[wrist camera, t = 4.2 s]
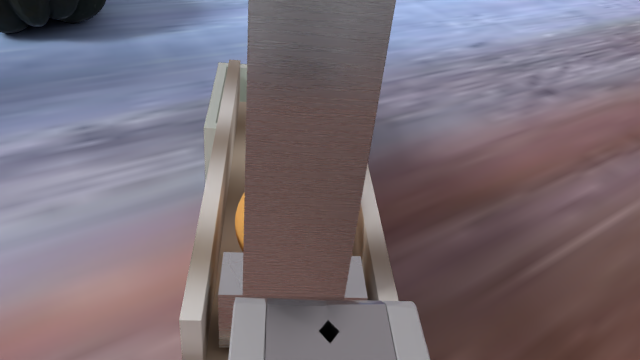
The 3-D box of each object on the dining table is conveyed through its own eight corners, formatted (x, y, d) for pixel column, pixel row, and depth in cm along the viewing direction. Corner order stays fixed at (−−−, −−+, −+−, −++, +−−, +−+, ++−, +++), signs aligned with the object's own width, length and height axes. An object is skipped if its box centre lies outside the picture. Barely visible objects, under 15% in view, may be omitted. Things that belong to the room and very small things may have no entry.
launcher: (363, 473, 21) (404, 324, 16) (191, 474, 20) (178, 320, 15) (329, 190, 36) (345, 67, 31) (229, 186, 35) (229, 59, 30)
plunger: (359, 367, 17) (481, -192, 9) (216, 366, 17) (205, -225, 8) (350, 300, 20) (441, -197, 11) (224, 297, 19) (221, -222, 11)
